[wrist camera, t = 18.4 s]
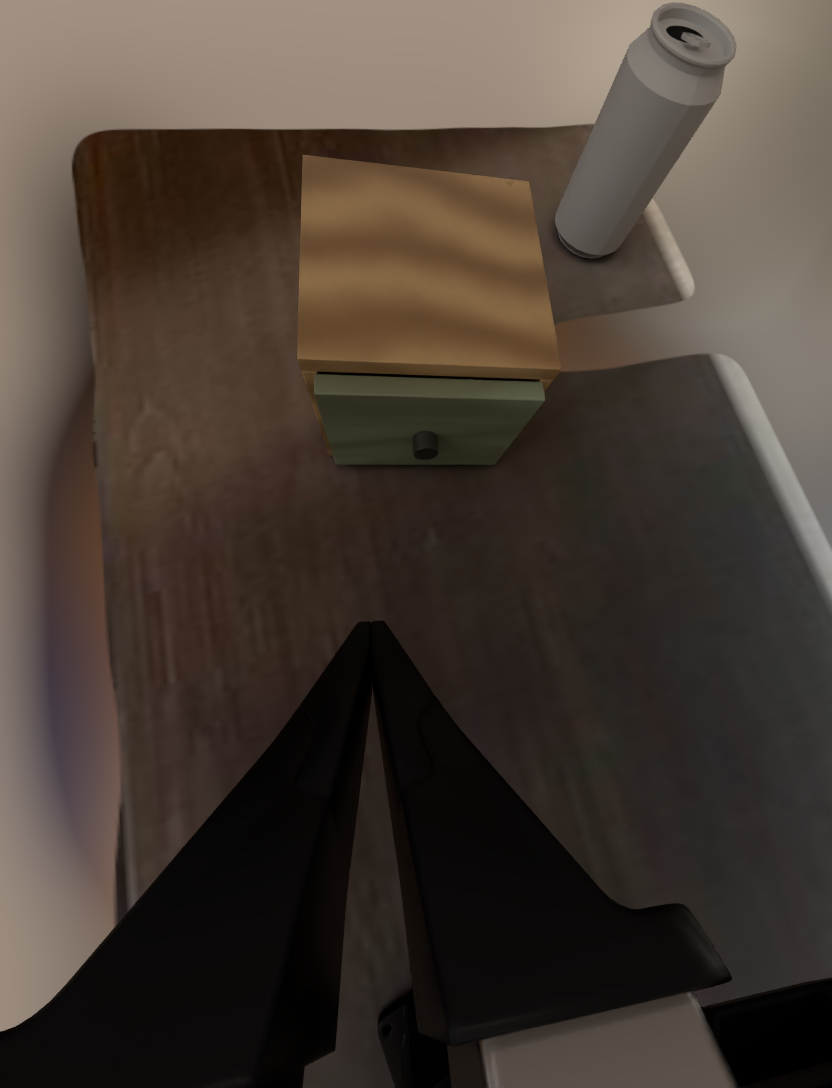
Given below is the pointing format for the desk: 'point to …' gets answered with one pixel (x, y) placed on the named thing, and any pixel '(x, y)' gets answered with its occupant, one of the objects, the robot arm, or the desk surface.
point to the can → (644, 126)
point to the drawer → (422, 417)
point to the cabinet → (420, 276)
